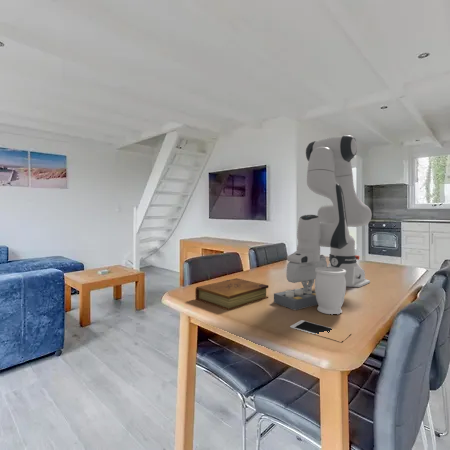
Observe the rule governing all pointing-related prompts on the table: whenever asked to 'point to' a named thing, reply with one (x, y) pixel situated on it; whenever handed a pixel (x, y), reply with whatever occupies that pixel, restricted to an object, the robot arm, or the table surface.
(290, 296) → the button
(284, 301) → the board
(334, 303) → the jar
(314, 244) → the robot arm
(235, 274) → the table surface
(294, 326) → the cell phone
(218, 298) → the diary
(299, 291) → the button mid
